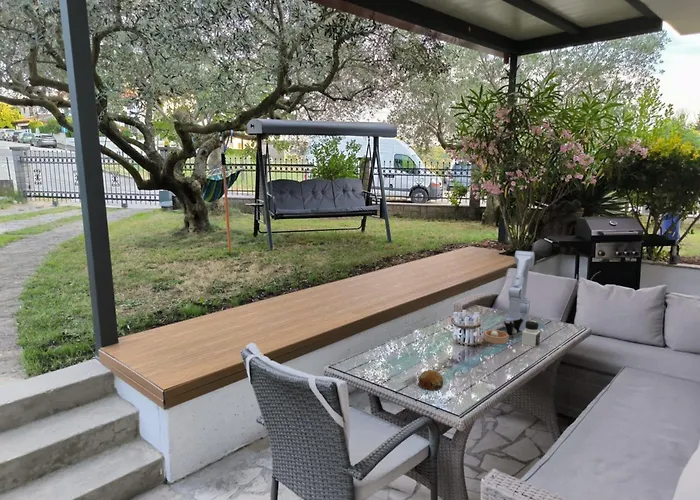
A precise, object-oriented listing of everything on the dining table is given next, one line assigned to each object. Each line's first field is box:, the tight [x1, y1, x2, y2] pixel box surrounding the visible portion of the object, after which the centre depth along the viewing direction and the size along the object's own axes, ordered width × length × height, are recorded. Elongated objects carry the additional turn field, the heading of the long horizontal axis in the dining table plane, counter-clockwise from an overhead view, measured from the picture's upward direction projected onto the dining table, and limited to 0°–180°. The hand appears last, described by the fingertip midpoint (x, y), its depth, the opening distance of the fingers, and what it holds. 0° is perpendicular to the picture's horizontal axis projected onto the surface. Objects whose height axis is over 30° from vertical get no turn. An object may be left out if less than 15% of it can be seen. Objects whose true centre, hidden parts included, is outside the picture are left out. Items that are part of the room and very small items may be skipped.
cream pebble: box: [491, 331, 498, 337], centre depth 251 cm, size 4×4×4 cm
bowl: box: [483, 329, 510, 345], centre depth 249 cm, size 12×12×4 cm
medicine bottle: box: [521, 320, 541, 348], centre depth 243 cm, size 7×7×12 cm
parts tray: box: [494, 325, 524, 341], centre depth 258 cm, size 12×12×2 cm
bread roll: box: [418, 369, 444, 391], centre depth 197 cm, size 10×10×8 cm
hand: (512, 333), depth 256 cm, fingers open, 7 cm apart
